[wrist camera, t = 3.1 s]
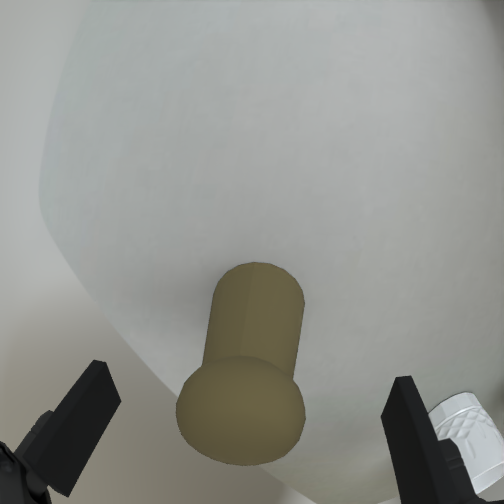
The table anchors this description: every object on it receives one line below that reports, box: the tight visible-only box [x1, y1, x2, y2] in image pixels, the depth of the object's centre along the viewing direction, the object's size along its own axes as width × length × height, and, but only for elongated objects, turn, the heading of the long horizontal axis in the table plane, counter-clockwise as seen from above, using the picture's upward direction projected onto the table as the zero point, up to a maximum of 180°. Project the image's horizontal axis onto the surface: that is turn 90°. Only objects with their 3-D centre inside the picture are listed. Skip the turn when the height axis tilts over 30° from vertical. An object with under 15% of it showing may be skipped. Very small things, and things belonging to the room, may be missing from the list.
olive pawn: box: [176, 262, 306, 466], centre depth 14 cm, size 6×6×11 cm
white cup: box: [428, 392, 504, 494], centre depth 17 cm, size 8×8×10 cm
